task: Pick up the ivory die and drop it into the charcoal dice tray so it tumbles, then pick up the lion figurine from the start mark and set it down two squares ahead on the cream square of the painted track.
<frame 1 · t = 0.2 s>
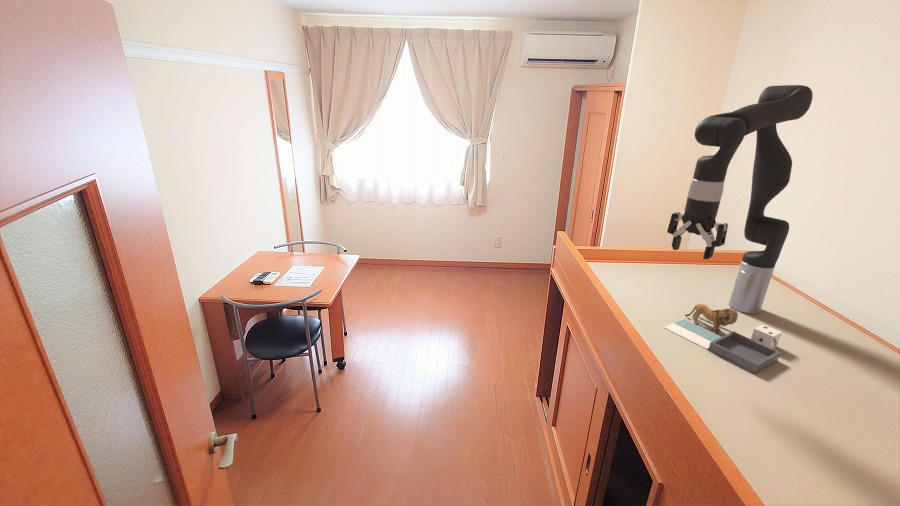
hand: (690, 254, 111), 29 cm above the table, fingers open, 8 cm apart
lion figurine: (708, 327, 130), on the table
track: (699, 331, 127), on the table
dice tray: (742, 355, 115), on the table
die: (762, 344, 121), on the table
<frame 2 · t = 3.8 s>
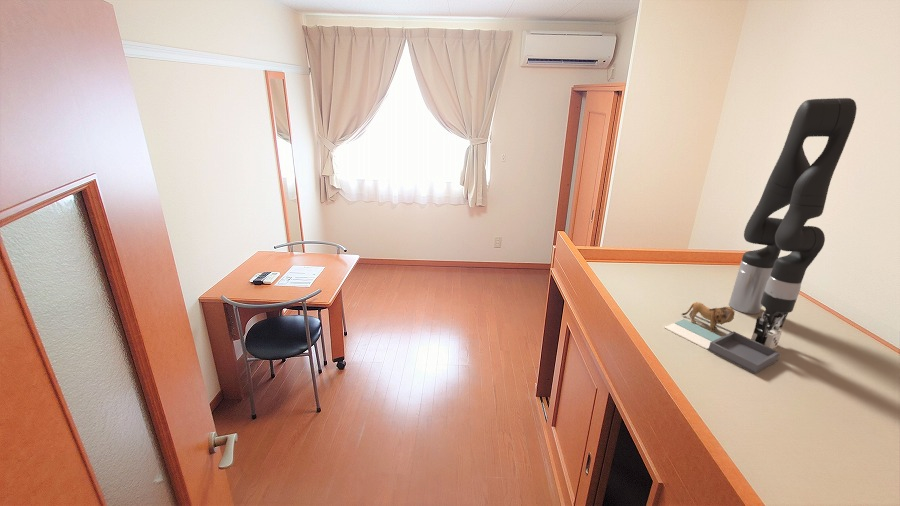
hand: (763, 342, 121), 0 cm above the table, fingers closed on die, 5 cm apart
lion figurine: (705, 326, 131), on the table
die: (763, 344, 121), on the table, touching gripper
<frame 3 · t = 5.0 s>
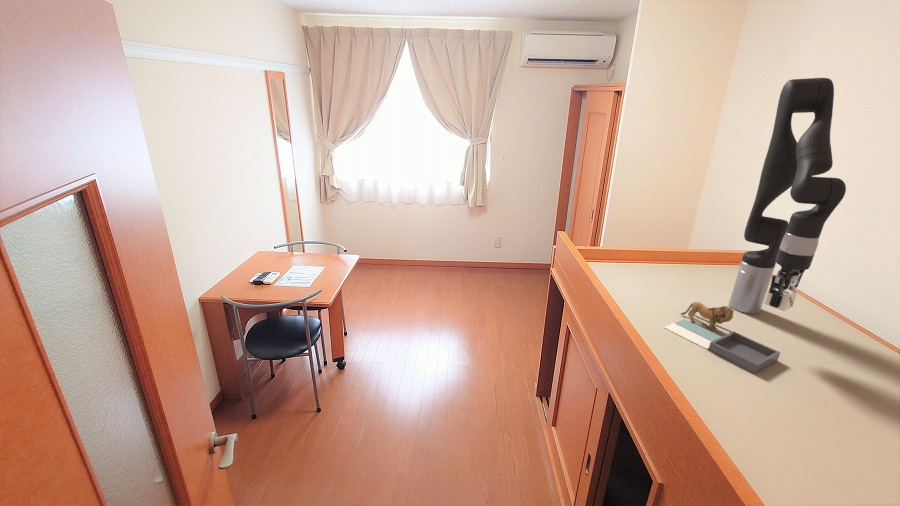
hand: (778, 303, 116), 14 cm above the table, fingers closed on die, 5 cm apart
die: (778, 305, 116), point 13 cm above the table, touching gripper
everything else where it was.
when the fingers open (10 cm above the table, at t = 6.2 s): die drops 9 cm, resting on dice tray.
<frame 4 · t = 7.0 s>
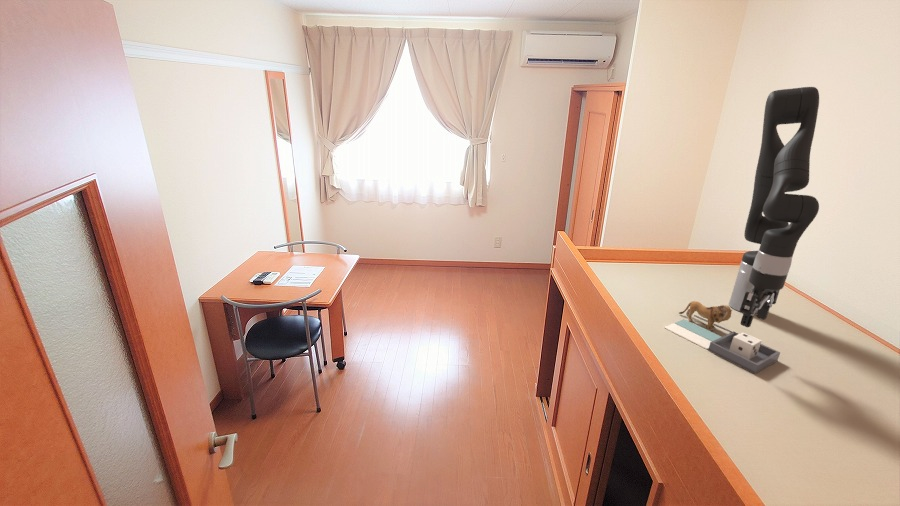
hand: (753, 322, 111), 11 cm above the table, fingers open, 8 cm apart
die: (742, 353, 115), point 1 cm above the table, touching dice tray
everything else where it was.
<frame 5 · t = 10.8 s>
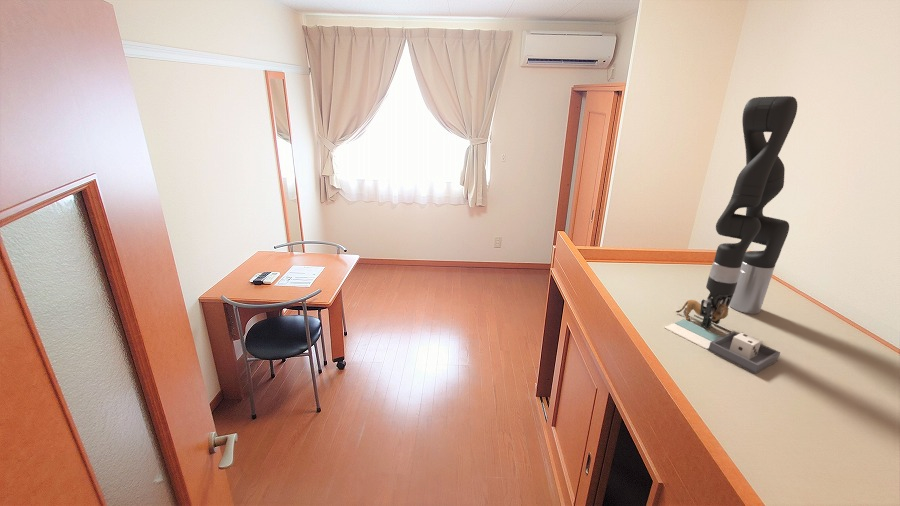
hand: (710, 324, 130), 1 cm above the table, fingers closed on lion figurine, 4 cm apart
lion figurine: (699, 322, 133), on the table, touching gripper
everything else where it was.
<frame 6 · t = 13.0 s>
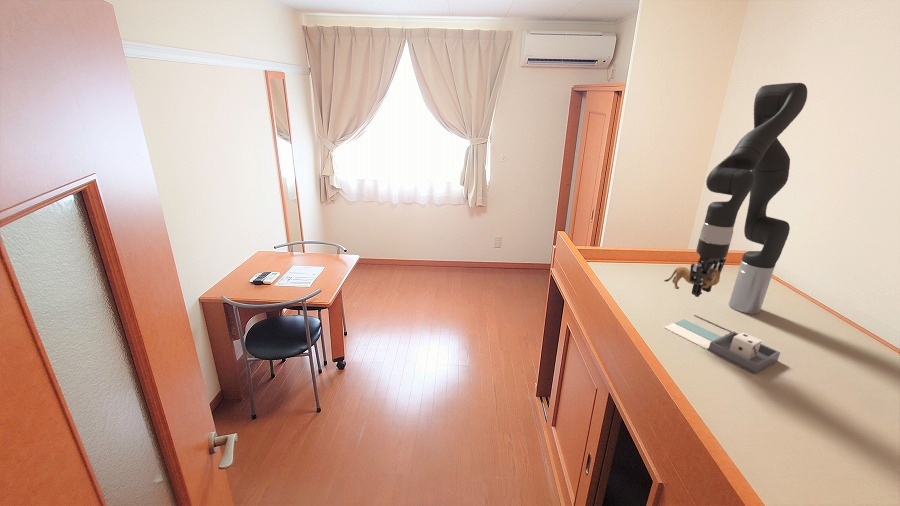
hand: (700, 292, 119), 15 cm above the table, fingers closed on lion figurine, 4 cm apart
lion figurine: (689, 291, 122), point 14 cm above the table, touching gripper
everything else where it was.
when the fingers open (3 cm above the table, at t = 15.6 s): lion figurine drops 1 cm, resting on track.
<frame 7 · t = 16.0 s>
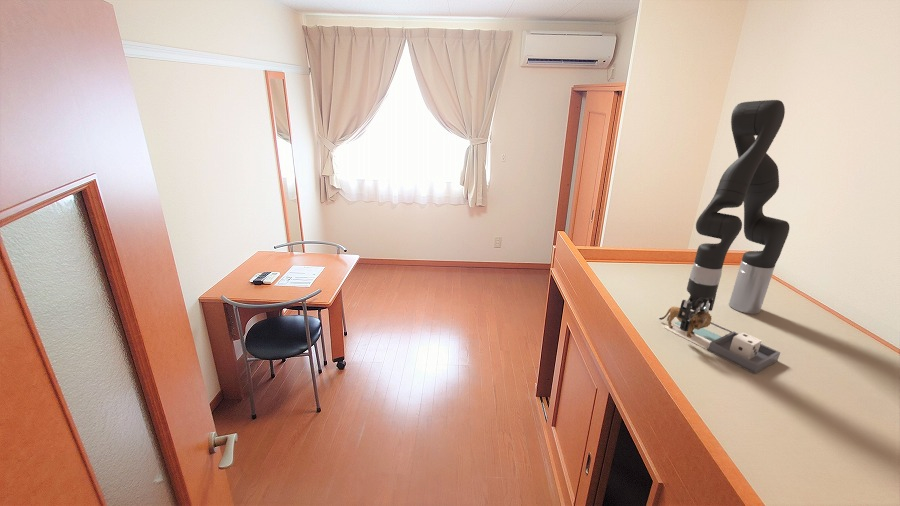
hand: (691, 326, 123), 3 cm above the table, fingers open, 8 cm apart
lion figurine: (682, 331, 127), resting on track
everything else where it was.
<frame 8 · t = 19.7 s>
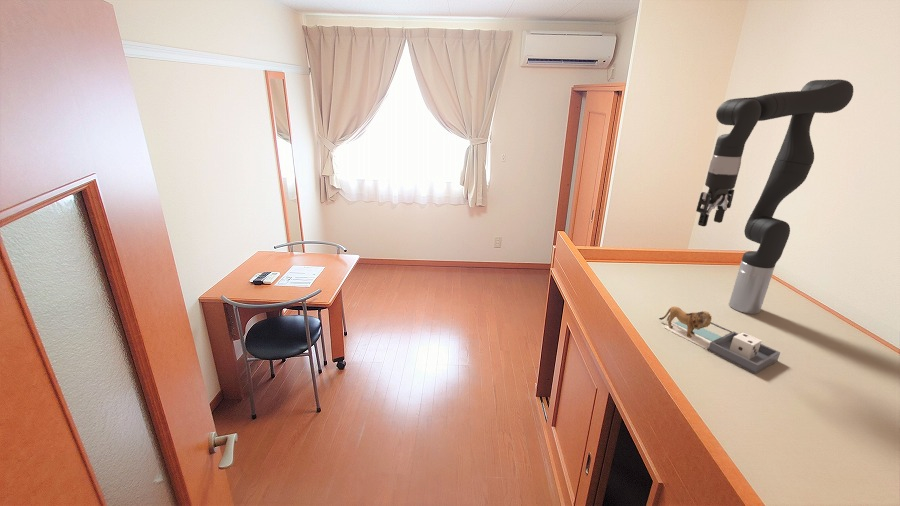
hand: (709, 223, 124), 33 cm above the table, fingers open, 8 cm apart
nothing on the table moved.
at the end: lion figurine inside the target area (2.8 cm from its centre), on the table; lion figurine tilted 0°; die inside the target area on the dice tray (0.1 cm from its centre), point 0.6 cm above the dice tray's base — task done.
